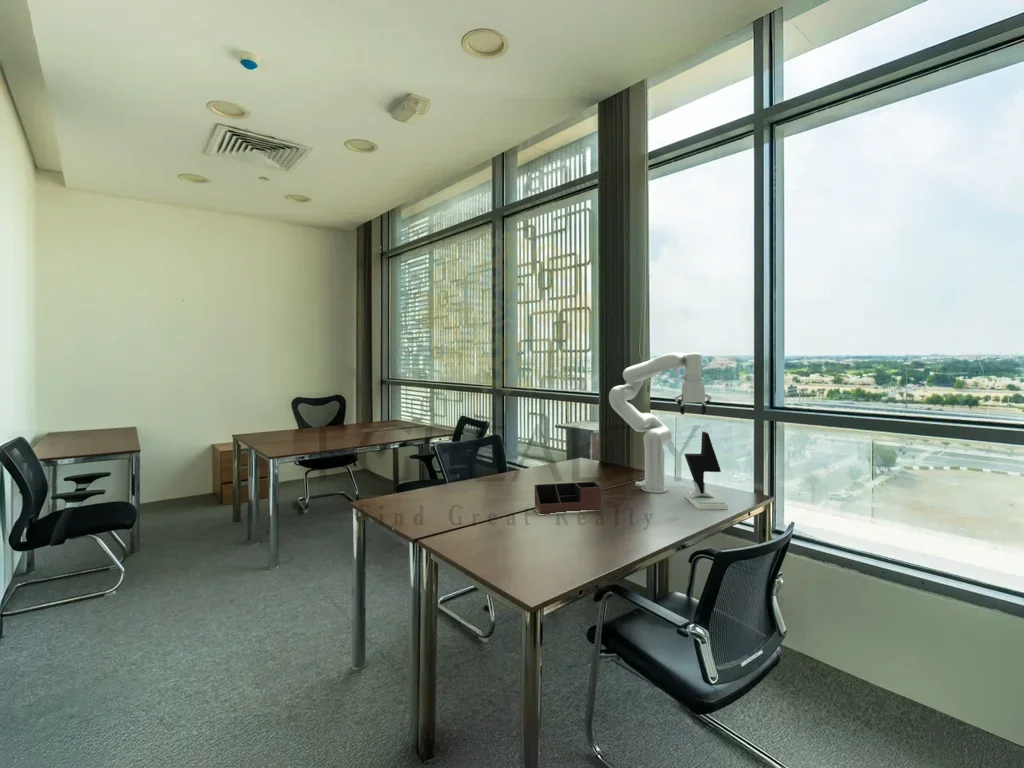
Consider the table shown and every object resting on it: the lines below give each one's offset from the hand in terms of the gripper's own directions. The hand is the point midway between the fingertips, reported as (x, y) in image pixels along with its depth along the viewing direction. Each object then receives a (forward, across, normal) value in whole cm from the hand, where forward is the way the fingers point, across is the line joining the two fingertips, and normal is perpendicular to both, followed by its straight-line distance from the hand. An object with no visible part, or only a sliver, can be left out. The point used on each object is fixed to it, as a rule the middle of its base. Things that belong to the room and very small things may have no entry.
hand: (692, 414), depth 234 cm
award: (+38, +2, -9) cm, 39 cm away
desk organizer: (+41, -61, -20) cm, 76 cm away
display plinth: (+40, +3, -10) cm, 42 cm away
